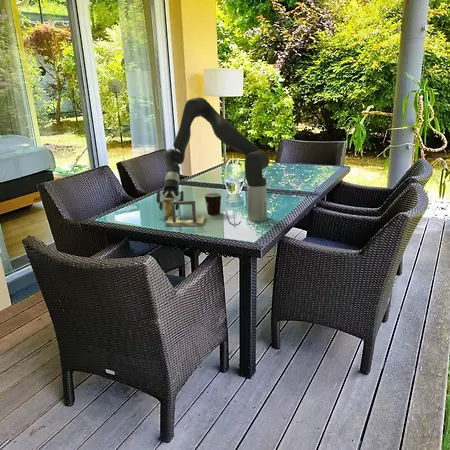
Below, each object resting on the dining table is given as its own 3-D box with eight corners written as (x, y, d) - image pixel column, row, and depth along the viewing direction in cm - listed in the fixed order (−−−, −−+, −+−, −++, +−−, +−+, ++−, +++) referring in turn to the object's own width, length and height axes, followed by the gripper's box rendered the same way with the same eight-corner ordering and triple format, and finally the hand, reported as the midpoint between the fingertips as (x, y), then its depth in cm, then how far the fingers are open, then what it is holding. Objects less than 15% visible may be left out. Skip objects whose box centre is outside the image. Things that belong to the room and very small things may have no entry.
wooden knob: (176, 215, 229) (175, 197, 226) (174, 218, 224) (172, 199, 221) (165, 215, 230) (164, 197, 226) (163, 219, 224) (161, 200, 221)
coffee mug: (206, 211, 235) (205, 193, 232) (222, 210, 234) (221, 192, 231) (204, 217, 224) (203, 198, 220) (221, 217, 223) (220, 198, 220)
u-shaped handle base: (205, 218, 222) (204, 196, 218) (202, 225, 211) (201, 201, 208) (170, 219, 224) (168, 196, 220) (165, 225, 213) (163, 202, 210)
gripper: (156, 178, 229) (153, 206, 221) (184, 178, 227) (181, 206, 220) (160, 186, 235) (156, 213, 228) (186, 185, 234) (183, 213, 226)
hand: (168, 209), depth 224 cm, fingers open, 7 cm apart
